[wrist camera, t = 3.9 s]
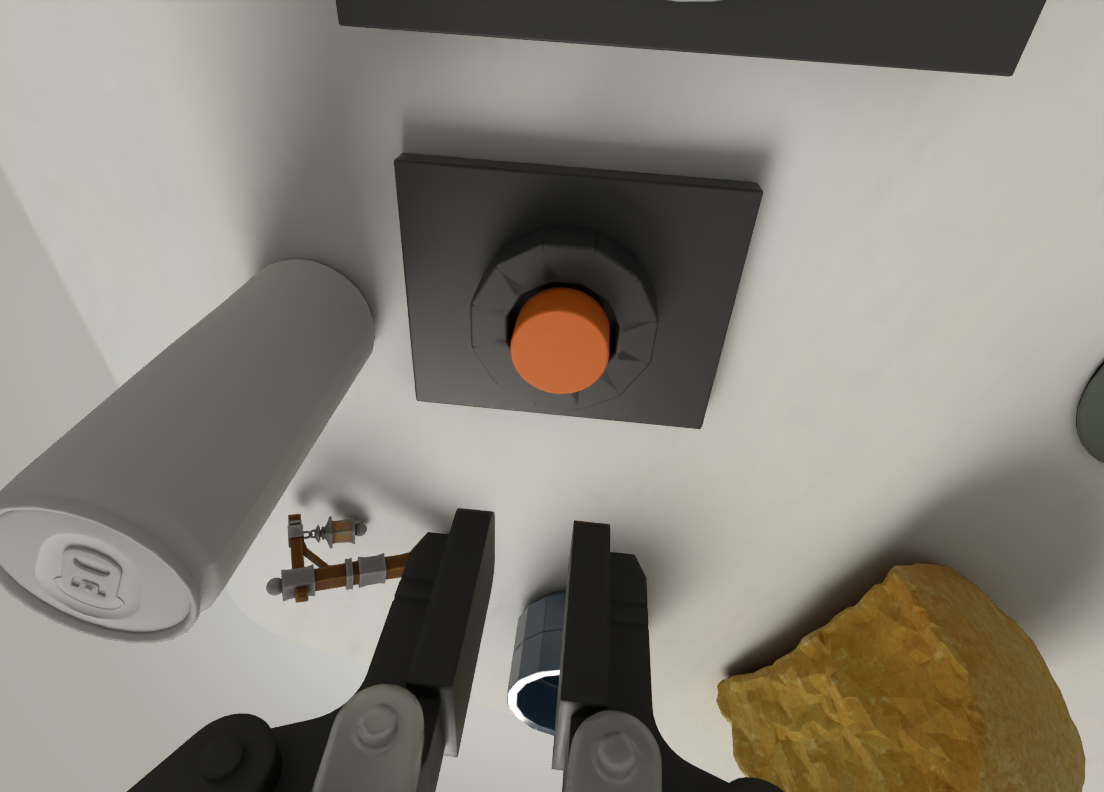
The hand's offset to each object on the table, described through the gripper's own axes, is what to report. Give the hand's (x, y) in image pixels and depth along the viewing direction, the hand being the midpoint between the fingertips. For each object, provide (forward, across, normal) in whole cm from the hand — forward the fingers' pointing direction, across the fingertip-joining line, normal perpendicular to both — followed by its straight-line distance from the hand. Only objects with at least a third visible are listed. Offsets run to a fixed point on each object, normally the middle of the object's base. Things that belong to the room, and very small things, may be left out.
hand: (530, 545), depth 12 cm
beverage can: (+11, +9, +2) cm, 15 cm away
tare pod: (+11, 0, 0) cm, 11 cm away
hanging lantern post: (+11, +8, +13) cm, 19 cm away
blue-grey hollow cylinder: (+11, -2, +19) cm, 22 cm away
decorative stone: (+11, -17, +19) cm, 28 cm away
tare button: (+9, 0, 0) cm, 9 cm away
